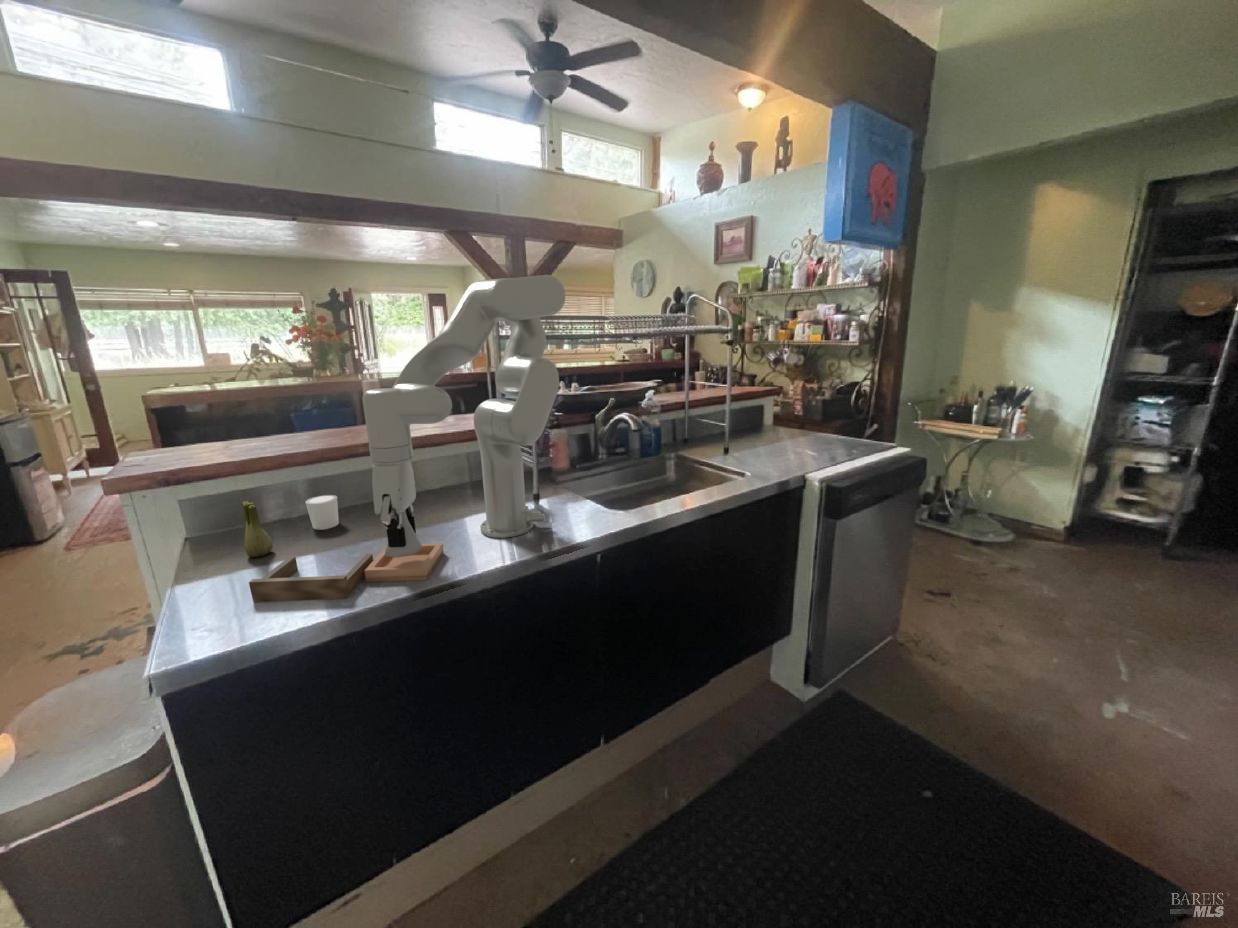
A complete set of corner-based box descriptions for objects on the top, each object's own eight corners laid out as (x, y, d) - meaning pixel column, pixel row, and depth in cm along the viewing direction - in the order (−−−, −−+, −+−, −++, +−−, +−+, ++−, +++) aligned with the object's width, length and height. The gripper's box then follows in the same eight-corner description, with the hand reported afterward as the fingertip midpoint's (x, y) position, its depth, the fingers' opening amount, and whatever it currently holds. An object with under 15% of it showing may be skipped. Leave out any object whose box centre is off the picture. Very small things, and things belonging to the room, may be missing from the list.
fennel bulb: (250, 551, 110) (239, 500, 107) (276, 547, 112) (266, 496, 109) (244, 561, 105) (231, 508, 102) (271, 557, 107) (260, 505, 104)
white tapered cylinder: (327, 531, 120) (322, 504, 119) (303, 529, 122) (298, 502, 120) (347, 521, 127) (343, 495, 125) (324, 519, 128) (320, 493, 126)
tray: (443, 553, 108) (442, 543, 107) (427, 579, 97) (425, 568, 96) (389, 555, 107) (387, 544, 107) (366, 582, 96) (364, 570, 95)
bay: (374, 567, 102) (371, 549, 101) (346, 598, 90) (343, 578, 89) (292, 570, 101) (288, 552, 100) (253, 602, 89) (248, 582, 88)
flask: (391, 544, 104) (385, 499, 101) (427, 543, 105) (421, 498, 102) (378, 559, 97) (371, 511, 94) (416, 558, 98) (410, 510, 95)
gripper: (388, 444, 103) (399, 525, 108) (351, 465, 87) (365, 559, 92) (425, 443, 104) (434, 524, 109) (395, 464, 88) (407, 558, 92)
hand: (402, 539), depth 100 cm, fingers closed on flask, 5 cm apart
